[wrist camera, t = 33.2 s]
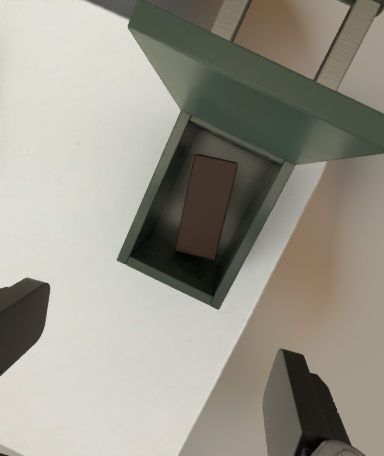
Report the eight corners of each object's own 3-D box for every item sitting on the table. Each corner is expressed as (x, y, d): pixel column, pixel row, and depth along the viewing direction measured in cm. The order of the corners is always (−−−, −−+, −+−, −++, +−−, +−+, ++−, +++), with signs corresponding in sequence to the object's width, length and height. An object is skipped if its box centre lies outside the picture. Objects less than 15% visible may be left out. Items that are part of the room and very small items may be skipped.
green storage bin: (221, 272, 31) (218, 310, 23) (144, 234, 31) (116, 260, 23) (281, 157, 28) (298, 159, 21) (196, 117, 28) (183, 104, 21)
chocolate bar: (180, 241, 30) (174, 251, 27) (198, 154, 28) (194, 153, 25) (216, 250, 30) (214, 260, 27) (237, 162, 28) (238, 163, 25)
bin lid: (392, 153, 9) (515, -65, 8) (125, 27, 9) (216, -203, 8) (297, 165, 20) (343, 76, 19) (179, 109, 20) (220, 17, 19)
